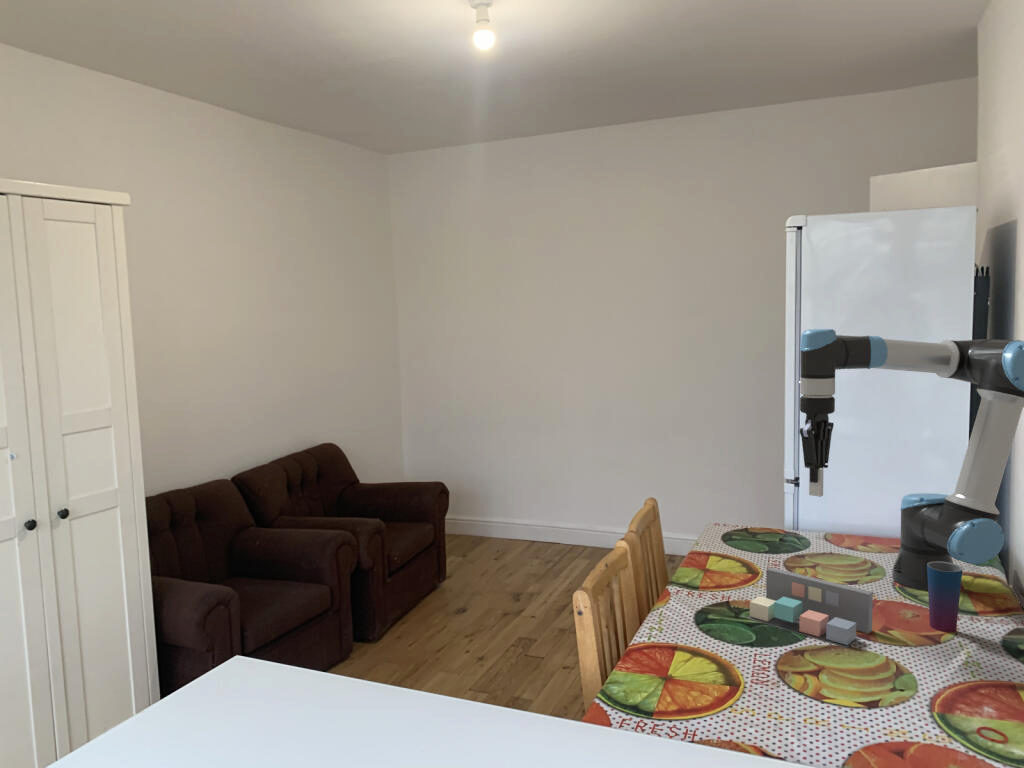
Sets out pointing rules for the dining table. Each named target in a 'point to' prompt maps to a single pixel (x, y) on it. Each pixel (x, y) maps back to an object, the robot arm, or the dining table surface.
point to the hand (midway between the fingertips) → (816, 495)
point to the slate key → (841, 631)
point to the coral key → (813, 623)
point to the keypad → (819, 601)
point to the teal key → (787, 609)
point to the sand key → (762, 608)
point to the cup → (944, 595)
